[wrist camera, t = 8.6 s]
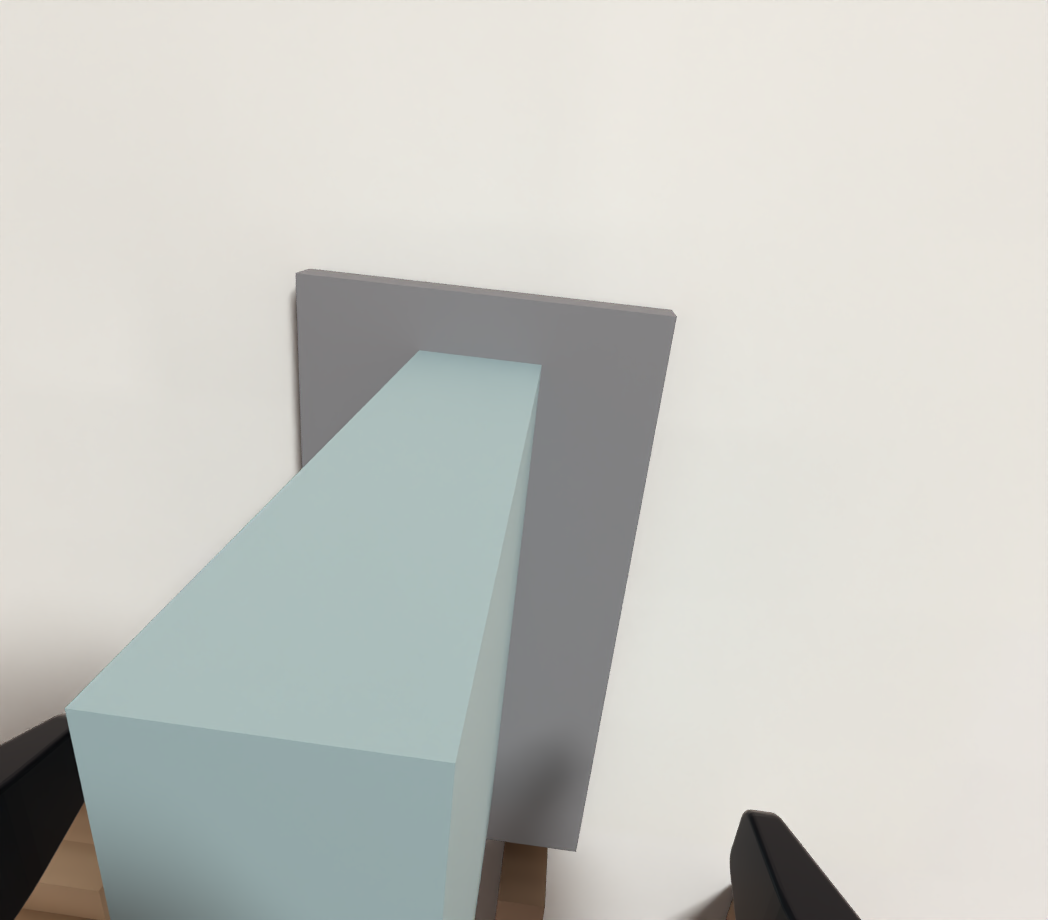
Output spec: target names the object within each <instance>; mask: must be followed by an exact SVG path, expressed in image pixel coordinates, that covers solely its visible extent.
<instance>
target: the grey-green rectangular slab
mask: <svg viewBox="0 0 1048 920" xmlns="http://www.w3.org/2000/svg"><path fill="white" fill-rule="evenodd" d="M541 367H542V365H538V364H530V363H521V362H513V361H504V360H496V359H488V358H479V357H471V356H463V355H454V354H446V353H438V352H429V351H421V350H419V351H418V352H417V353H416V354H415V355H414V356H413V357H412V358H411V359H410V360H409V361H408V362H407V363H406V364H405V365H404V366H403V367H402V368H401V369H400V370H399V371H398V372H397V373H396V374H395V375H394V376H393V377H392V378H391V379H390V380H389V381H388V382H387V383H386V384H385V385H384V386H383V387H382V388H381V390H380V391H379V392H378V393H377V394H376V395H375V396H374V397H373V398H372V399H371V400H370V401H369V402H368V403H367V404H366V405H365V406H364V407H363V408H362V409H361V410H360V411H359V412H358V413H357V414H356V415H355V416H354V417H353V418H352V419H351V420H350V421H349V422H348V423H347V424H346V425H345V426H344V427H343V428H342V429H341V430H340V431H339V432H338V433H337V434H336V435H335V436H334V437H333V438H332V439H331V440H330V441H329V442H328V443H327V444H326V445H325V446H324V447H323V448H322V449H321V450H320V451H319V452H318V453H317V454H316V455H315V456H314V457H313V458H312V459H311V460H310V461H309V462H308V463H307V464H306V465H305V466H304V467H303V468H302V469H301V470H300V471H299V472H298V473H297V474H296V475H295V476H294V477H293V478H292V479H291V480H290V481H289V482H288V483H287V484H286V485H285V486H284V487H283V488H282V489H281V490H280V492H279V493H278V494H277V495H276V496H275V497H274V498H273V499H272V500H271V501H270V502H269V503H268V504H267V505H266V506H265V507H264V508H263V509H262V510H261V511H260V512H259V513H258V514H257V515H256V516H255V517H254V518H253V519H252V520H251V521H250V522H249V523H248V524H247V525H246V526H245V527H244V528H243V529H242V530H241V531H240V532H239V533H238V534H237V535H236V536H235V537H234V538H233V539H232V540H231V541H230V542H229V543H228V544H227V545H226V546H225V547H224V548H223V549H222V550H221V551H220V552H219V553H218V554H217V555H216V556H215V557H214V558H213V559H212V560H211V561H210V562H209V563H208V564H207V565H206V566H205V567H204V568H203V569H202V570H201V571H200V572H199V573H198V574H197V575H196V576H195V577H194V578H193V579H192V580H191V581H190V582H189V583H188V584H187V585H186V586H185V587H184V588H183V589H182V590H181V591H180V593H179V594H178V595H177V596H176V597H175V598H174V599H173V600H172V601H171V602H170V603H169V604H168V605H167V606H166V607H165V608H164V609H163V610H162V611H161V612H160V613H159V614H158V615H157V616H156V617H155V618H154V619H153V620H152V621H151V622H150V623H149V624H148V625H147V626H146V627H145V628H144V629H143V630H142V631H141V632H140V633H139V634H138V635H137V636H136V637H135V638H134V639H133V640H132V641H131V642H130V643H129V644H128V645H127V646H126V647H125V648H124V649H123V650H122V651H121V652H120V653H119V654H118V655H117V656H116V657H115V658H114V659H113V660H112V661H111V662H110V663H109V664H108V665H107V666H106V667H105V668H104V669H103V670H102V671H101V672H100V673H99V674H98V675H97V676H96V677H95V678H94V679H93V680H92V681H91V682H90V683H89V684H88V685H87V686H86V687H85V688H84V689H83V690H82V691H81V692H80V693H79V695H78V696H77V697H76V698H75V699H74V700H73V701H72V702H71V703H70V704H69V705H68V706H67V707H66V708H65V712H66V717H67V721H68V726H69V731H70V735H71V740H72V744H73V749H74V754H75V758H76V763H77V767H78V772H79V777H80V781H81V786H82V791H83V795H84V800H85V804H86V809H87V814H88V818H89V823H90V828H91V832H92V837H93V841H94V846H95V851H96V855H97V860H98V864H99V869H100V874H101V878H102V883H103V888H104V892H105V897H106V901H107V906H108V911H109V915H110V920H475V914H476V907H477V900H478V893H479V886H480V879H481V872H482V865H483V858H484V851H485V844H486V837H487V830H488V823H489V816H490V810H491V801H492V793H493V784H494V775H495V767H496V758H497V749H498V740H499V732H500V723H501V714H502V706H503V697H504V688H505V680H506V671H507V662H508V654H509V645H510V636H511V627H512V619H513V610H514V601H515V593H516V584H517V575H518V567H519V558H520V549H521V540H522V532H523V523H524V514H525V506H526V497H527V488H528V480H529V471H530V462H531V453H532V445H533V436H534V427H535V419H536V410H537V401H538V393H539V384H540V375H541Z"/></svg>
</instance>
